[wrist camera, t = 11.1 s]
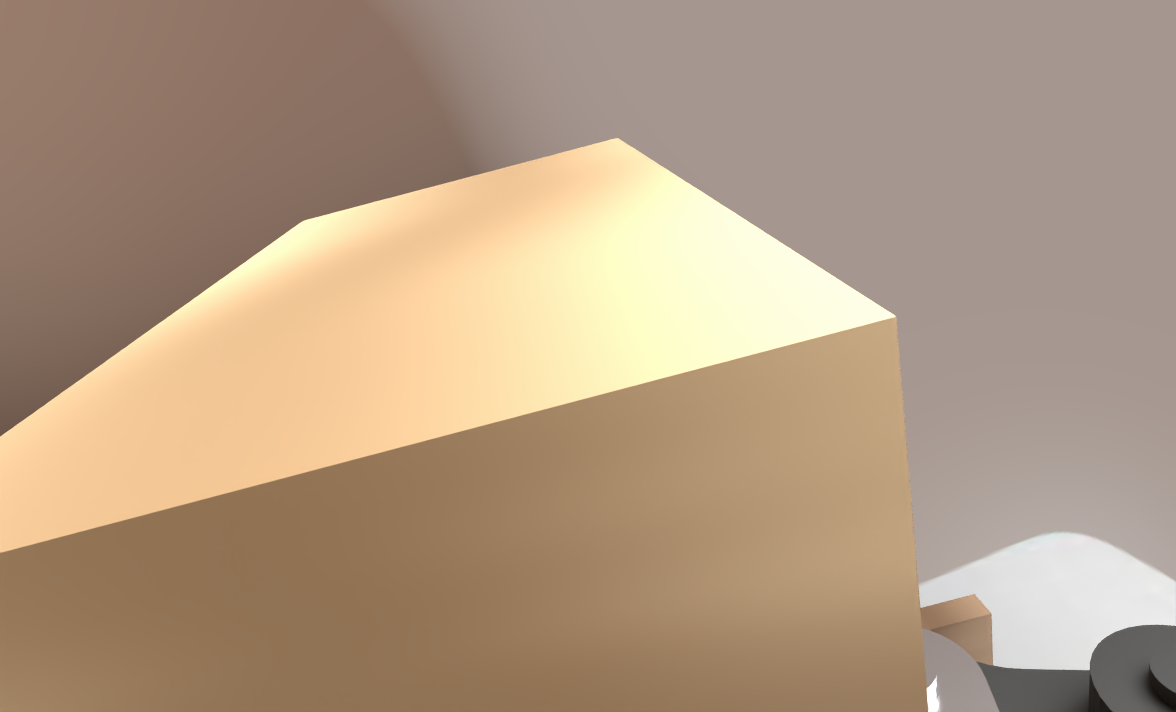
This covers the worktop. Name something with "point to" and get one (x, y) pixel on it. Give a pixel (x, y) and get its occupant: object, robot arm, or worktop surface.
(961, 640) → the rack
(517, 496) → the light brown wooden block
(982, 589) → the worktop surface
